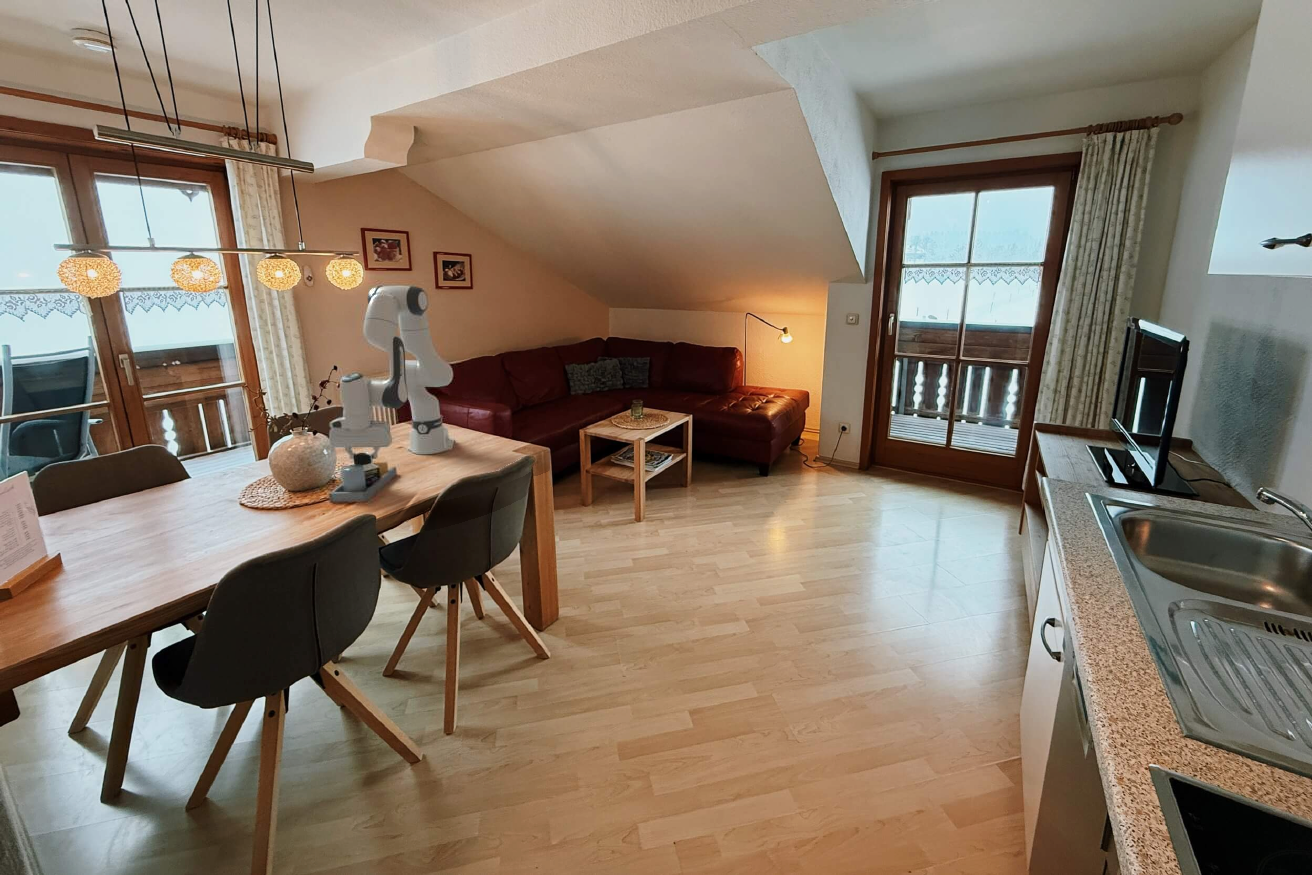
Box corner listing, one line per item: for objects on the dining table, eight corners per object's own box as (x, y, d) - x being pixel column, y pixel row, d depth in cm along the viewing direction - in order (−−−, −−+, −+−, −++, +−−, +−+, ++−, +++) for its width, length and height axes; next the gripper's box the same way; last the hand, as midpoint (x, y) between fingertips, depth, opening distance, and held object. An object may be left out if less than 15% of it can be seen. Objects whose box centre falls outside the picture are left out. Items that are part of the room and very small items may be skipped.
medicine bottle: (362, 490, 201) (357, 458, 198) (352, 485, 205) (347, 454, 202) (381, 484, 207) (377, 453, 203) (371, 480, 211) (367, 449, 207)
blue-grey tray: (363, 477, 217) (362, 467, 216) (397, 476, 218) (395, 466, 217) (330, 504, 192) (328, 493, 191) (368, 504, 193) (366, 493, 192)
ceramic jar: (350, 491, 201) (346, 464, 198) (370, 491, 201) (366, 464, 198) (340, 499, 194) (336, 471, 191) (362, 499, 194) (358, 471, 192)
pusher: (363, 476, 214) (361, 461, 212) (389, 476, 214) (387, 461, 212) (362, 478, 212) (359, 462, 211) (387, 477, 213) (385, 462, 211)
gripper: (392, 418, 203) (397, 455, 207) (333, 418, 202) (339, 455, 206) (385, 423, 197) (390, 461, 201) (324, 423, 196) (330, 461, 200)
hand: (363, 458), depth 204 cm, fingers closed on medicine bottle, 6 cm apart
